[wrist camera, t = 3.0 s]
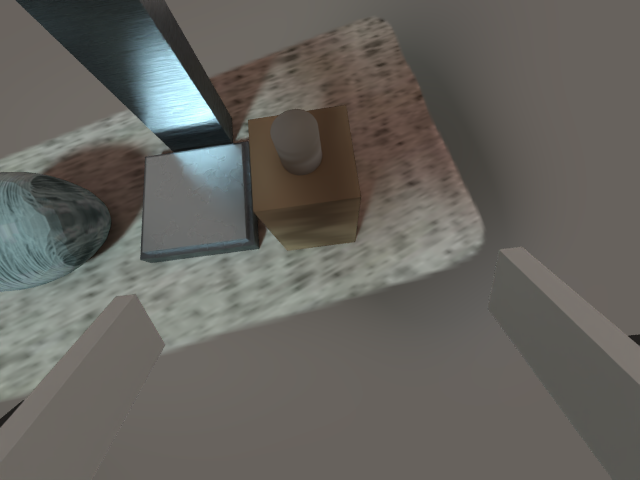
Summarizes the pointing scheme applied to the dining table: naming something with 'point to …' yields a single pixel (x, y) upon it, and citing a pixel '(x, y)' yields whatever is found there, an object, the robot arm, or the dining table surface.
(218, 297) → the dining table surface
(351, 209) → the brown bottle
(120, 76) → the press
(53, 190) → the blue grey streaked ovoid
